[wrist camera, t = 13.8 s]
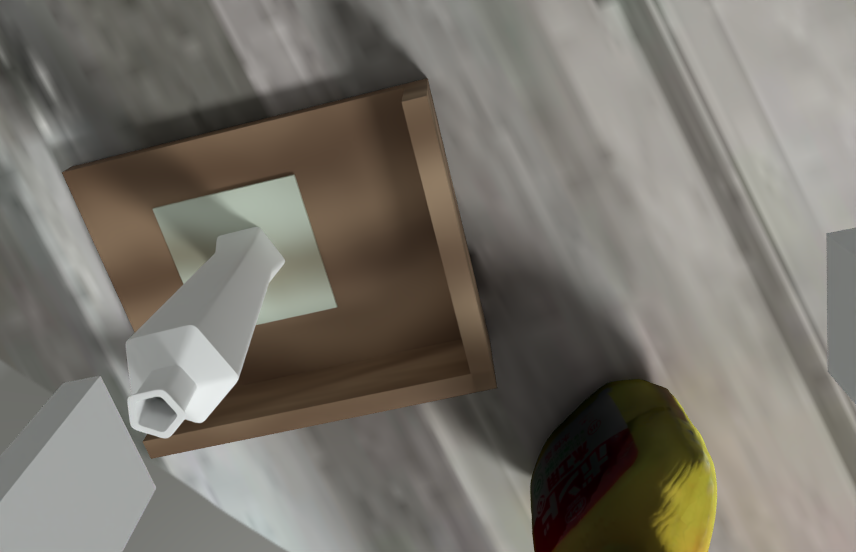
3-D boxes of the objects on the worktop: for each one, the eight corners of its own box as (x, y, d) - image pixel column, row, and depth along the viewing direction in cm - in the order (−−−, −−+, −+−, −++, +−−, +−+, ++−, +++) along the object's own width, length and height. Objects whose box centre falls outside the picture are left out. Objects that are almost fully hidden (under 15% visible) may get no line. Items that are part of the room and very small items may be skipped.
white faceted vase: (188, 248, 40) (63, 399, 27) (251, 207, 39) (154, 341, 26) (240, 311, 42) (147, 484, 28) (302, 273, 41) (237, 433, 27)
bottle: (557, 511, 49) (631, 838, 31) (490, 459, 48) (528, 772, 29) (697, 403, 46) (873, 699, 28) (630, 342, 44) (771, 615, 26)
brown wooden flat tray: (72, 166, 40) (23, 195, 35) (427, 78, 38) (426, 95, 33) (179, 406, 46) (151, 458, 41) (490, 341, 44) (497, 388, 39)
